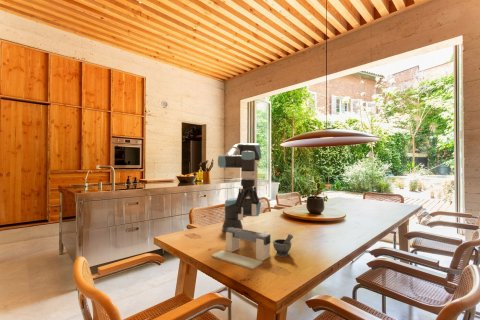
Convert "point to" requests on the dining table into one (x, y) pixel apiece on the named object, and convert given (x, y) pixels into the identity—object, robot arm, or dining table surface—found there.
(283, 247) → the mortar and pestle
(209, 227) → the dining table surface
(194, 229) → the dining table surface
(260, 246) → the beige u-shaped block
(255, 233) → the rail
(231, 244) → the beige bridge block
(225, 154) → the robot arm
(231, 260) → the mat
